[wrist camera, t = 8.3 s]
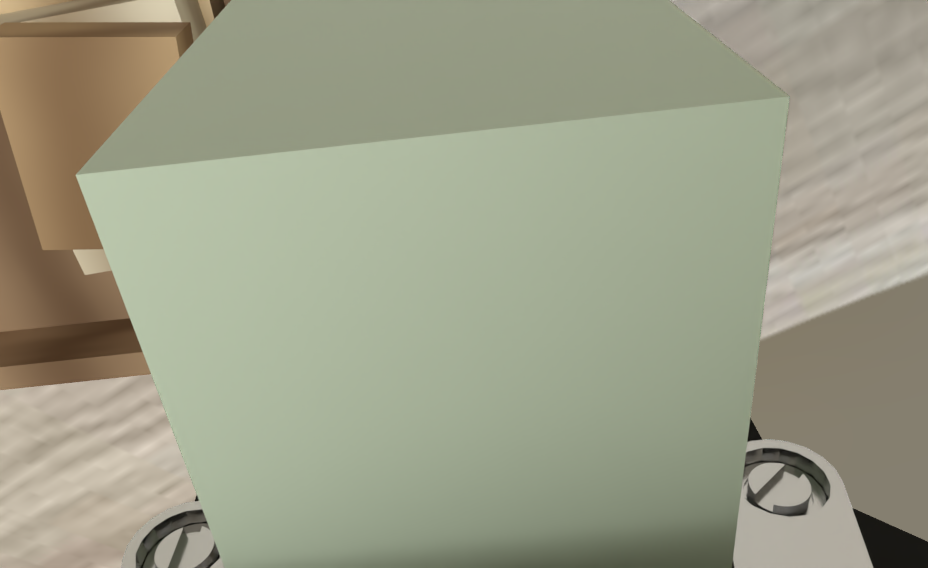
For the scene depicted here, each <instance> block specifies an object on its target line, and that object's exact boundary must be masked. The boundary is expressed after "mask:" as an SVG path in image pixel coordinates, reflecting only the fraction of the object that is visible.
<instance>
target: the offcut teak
mask: <svg viewBox="0 0 928 568" xmlns="http://www.w3.org/2000/svg"><path fill="white" fill-rule="evenodd" d="M193 43H194V41H193V35H192V29H191V23H190V22H5V23H3V24H1V25H0V111H1V115H2V118H3V121H4V125H5V128H6V131H7V134H8V138H9V141H10V144H11V148H12V151H13V154H14V157H15V161H16V164H17V167H18V171H19V174H20V177H21V180H22V184H23V187H24V190H25V194H26V197H27V200H28V203H29V207H30V210H31V213H32V217H33V220H34V223H35V226H36V230H37V233H38V236H39V240H40V243H41V246H42V249H43V250H86V249H103V246H102V243H101V241H100V238H99V236H98V233H97V230H96V228H95V225H94V222H93V220H92V217H91V214H90V212H89V209H88V207H87V204H86V201H85V199H84V196H83V193H82V191H81V188H80V185H79V183H78V180H77V178H76V174H77V173H78V172H79V171H80V169H81V168H82V167H83V166H84V165H85V164H86V163H87V162H88V160H89V159H90V158H91V157H92V156H93V155H94V154H95V153H96V151H97V150H98V149H99V148H100V147H101V146H102V145H103V144H104V142H105V141H106V140H107V139H108V138H109V137H110V136H111V135H112V133H113V132H114V131H115V130H116V129H117V128H118V127H119V126H120V124H121V123H122V122H123V121H124V120H125V119H126V118H127V117H128V116H129V114H130V113H131V112H132V111H133V110H134V109H135V108H136V107H137V105H138V104H139V103H140V102H141V101H142V100H143V99H144V98H145V96H146V95H147V94H148V93H149V92H150V91H151V90H152V89H153V87H154V86H155V85H156V84H157V83H158V82H159V81H160V80H161V78H162V77H163V76H164V75H165V74H166V73H167V72H168V71H169V70H170V68H171V67H172V66H173V65H174V64H175V63H176V62H177V61H178V59H179V58H180V57H181V56H182V55H183V54H184V53H185V52H186V50H187V49H188V48H189V47H190V46H191V45H192V44H193Z"/></svg>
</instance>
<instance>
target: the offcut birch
mask: <svg viewBox="0 0 928 568" xmlns="http://www.w3.org/2000/svg"><path fill="white" fill-rule="evenodd" d="M5 22H190V23H191V29H192V35H193V41H195V40H196V39H197V38H198V37H199V36H200V35H201V34H202V32H203V31H204V30H205V29H206V28H207V27H206V24H205V21H204V18H203V15H202V12H201V9H200V6H199V3H198V0H74V1H69V2H63V3H58V4H52V5H47V6H42V7H36V8H31V9H26V10H20V11H15V12H10V13H4V14H0V25H1V24H3V23H5ZM73 252H74V254H75V256H76V258H77V260H78V262H79V264H80V266H81V268H82V270H83V272H84V274H85V275H88V274H94V273H100V272H106V271H112V270H111V267H110V264H109V262H108V259H107V257H106V254H105V251H104V249H86V250H73Z"/></svg>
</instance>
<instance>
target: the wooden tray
mask: <svg viewBox="0 0 928 568" xmlns="http://www.w3.org/2000/svg"><path fill="white" fill-rule="evenodd" d="M230 1H231V0H224V4H225V7H226V6H227V4H228V3H229V2H230ZM147 374H151V372H150V370H149V367H148V365H147V362H146V359H145V357H144V354H143V351H142V349H141V346H140V343H139V341H138V338H137V336H136V333H135V330H134V328H133V325H132V322H131V320H130V317H129V315H128V312H127V309H126V307H125V304H124V301H123V299H122V296H121V293H120V291H119V288H118V286H117V283H116V280H115V278H114V275H113V272H112V271H106V272H100V273H94V274H88V275H85V274H84V272H83V270H82V268H81V266H80V264H79V262H78V260H77V258H76V256H75V254H74V252H73V250H43V249H42V246H41V243H40V240H39V236H38V233H37V230H36V226H35V223H34V220H33V217H32V213H31V210H30V207H29V203H28V200H27V197H26V194H25V190H24V187H23V184H22V180H21V177H20V174H19V171H18V167H17V164H16V161H15V157H14V154H13V151H12V148H11V144H10V141H9V138H8V134H7V131H6V128H5V125H4V121H3V118H2V115H1V111H0V390H6V389H15V388H25V387H34V386H43V385H53V384H62V383H72V382H81V381H90V380H100V379H109V378H119V377H128V376H137V375H147Z"/></svg>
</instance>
